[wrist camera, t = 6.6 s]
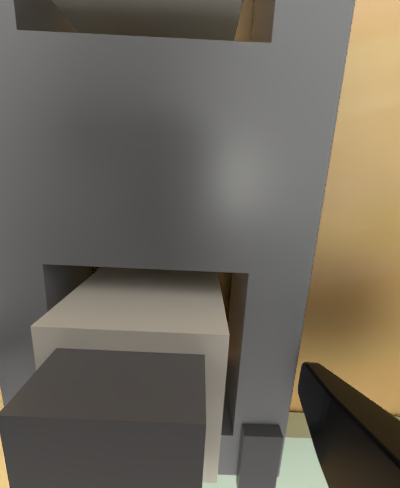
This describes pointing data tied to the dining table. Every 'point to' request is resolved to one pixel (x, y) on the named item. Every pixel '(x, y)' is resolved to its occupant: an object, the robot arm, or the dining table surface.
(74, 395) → the plug
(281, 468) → the parts tray
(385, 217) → the dining table surface
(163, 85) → the grey socket board
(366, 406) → the robot arm
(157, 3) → the twin plug
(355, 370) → the dining table surface
